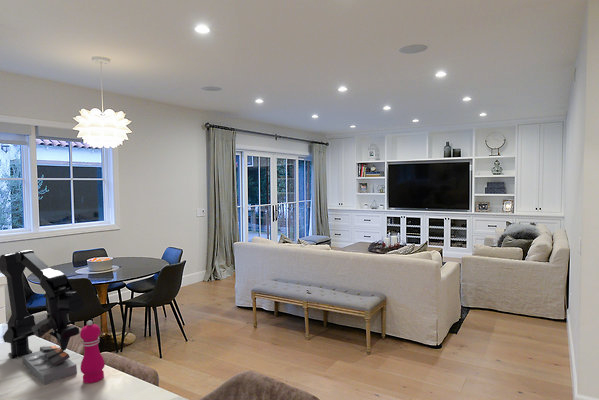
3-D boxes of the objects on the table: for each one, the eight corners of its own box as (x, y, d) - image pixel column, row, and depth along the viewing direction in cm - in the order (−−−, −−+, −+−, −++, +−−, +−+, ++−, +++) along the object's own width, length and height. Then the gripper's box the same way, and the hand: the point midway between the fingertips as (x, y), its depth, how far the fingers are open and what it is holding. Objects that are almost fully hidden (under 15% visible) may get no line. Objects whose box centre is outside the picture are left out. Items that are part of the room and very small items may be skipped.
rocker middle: (45, 359, 144) (44, 353, 144) (60, 353, 148) (59, 347, 148) (48, 362, 141) (47, 356, 141) (64, 356, 145) (63, 350, 145)
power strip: (22, 364, 148) (22, 355, 147) (53, 354, 155) (52, 346, 155) (44, 384, 132) (43, 375, 131) (76, 373, 139) (76, 363, 139)
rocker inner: (39, 352, 148) (40, 346, 148) (53, 351, 152) (55, 345, 152) (42, 355, 145) (43, 349, 146) (57, 354, 149) (58, 348, 149)
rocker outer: (51, 365, 140) (49, 359, 140) (66, 356, 144) (64, 351, 143) (55, 368, 138) (53, 363, 137) (70, 359, 141) (68, 354, 141)
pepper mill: (95, 385, 130) (91, 324, 129) (76, 383, 132) (71, 324, 131) (110, 374, 137) (106, 317, 136) (91, 372, 139) (87, 316, 138)
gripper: (24, 311, 145) (30, 353, 147) (41, 322, 133) (48, 367, 135) (57, 302, 154) (63, 341, 155) (77, 311, 142) (83, 353, 143)
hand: (63, 350), depth 147 cm, fingers closed, pressing on rocker middle
